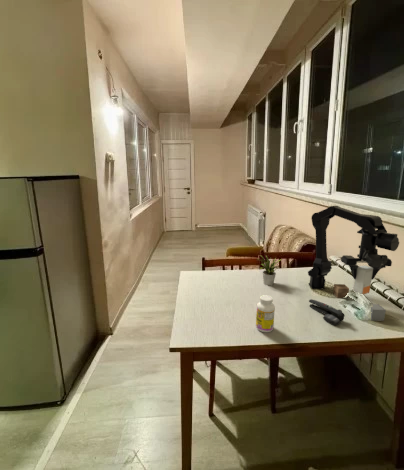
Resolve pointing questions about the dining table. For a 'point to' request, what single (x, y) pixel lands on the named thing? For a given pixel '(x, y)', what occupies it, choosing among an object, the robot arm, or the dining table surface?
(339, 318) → the can opener
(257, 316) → the supplement bottle
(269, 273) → the house plant
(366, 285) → the skincare box
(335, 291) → the walnut block
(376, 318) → the slate block
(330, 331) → the dining table surface
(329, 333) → the dining table surface
